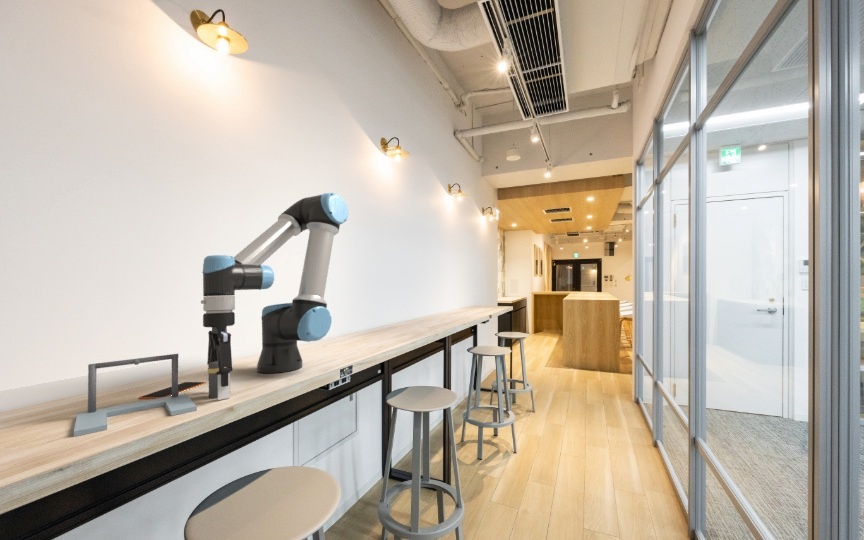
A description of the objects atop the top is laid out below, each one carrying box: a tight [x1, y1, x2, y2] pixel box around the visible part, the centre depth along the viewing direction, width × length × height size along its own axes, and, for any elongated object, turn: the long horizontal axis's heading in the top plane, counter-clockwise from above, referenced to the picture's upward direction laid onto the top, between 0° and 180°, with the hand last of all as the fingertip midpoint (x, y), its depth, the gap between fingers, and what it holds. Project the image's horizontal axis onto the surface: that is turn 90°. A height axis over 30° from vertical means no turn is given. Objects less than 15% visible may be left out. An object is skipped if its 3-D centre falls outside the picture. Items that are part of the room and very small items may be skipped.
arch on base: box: [73, 353, 198, 437], centre depth 86 cm, size 21×16×12 cm
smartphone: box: [138, 381, 207, 400], centre depth 106 cm, size 8×17×1 cm, turn 174°
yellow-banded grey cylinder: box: [207, 361, 226, 400], centre depth 100 cm, size 5×5×9 cm
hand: (219, 394), depth 99 cm, fingers open, 9 cm apart
